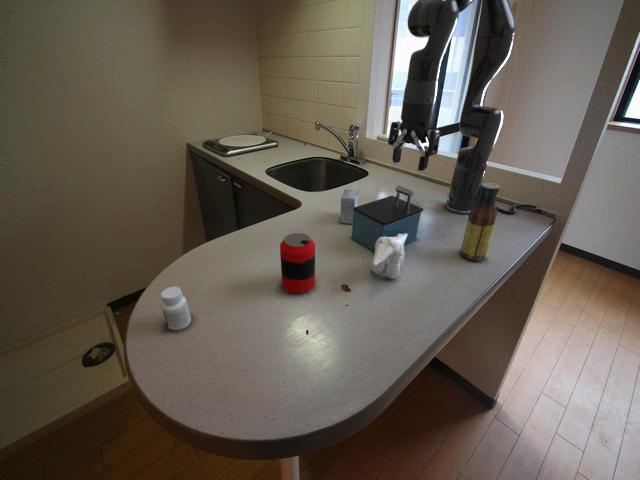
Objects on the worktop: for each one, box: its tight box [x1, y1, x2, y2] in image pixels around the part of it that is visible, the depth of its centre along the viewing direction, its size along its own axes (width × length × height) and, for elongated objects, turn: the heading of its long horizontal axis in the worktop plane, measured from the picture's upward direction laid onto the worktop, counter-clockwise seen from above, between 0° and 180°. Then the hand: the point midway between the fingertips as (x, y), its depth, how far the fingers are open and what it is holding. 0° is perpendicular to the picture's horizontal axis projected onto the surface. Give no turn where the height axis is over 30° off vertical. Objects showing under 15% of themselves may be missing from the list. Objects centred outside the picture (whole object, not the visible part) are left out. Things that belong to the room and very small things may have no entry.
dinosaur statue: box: [371, 233, 408, 280], centre depth 77 cm, size 7×24×11 cm, turn 148°
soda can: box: [279, 232, 316, 295], centre depth 70 cm, size 8×8×12 cm
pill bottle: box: [160, 286, 192, 331], centre depth 60 cm, size 4×4×8 cm
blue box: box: [351, 210, 422, 253], centre depth 90 cm, size 15×12×9 cm
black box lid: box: [354, 184, 424, 226], centre depth 86 cm, size 15×12×5 cm
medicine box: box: [339, 188, 359, 225], centre depth 101 cm, size 8×4×9 cm, turn 168°
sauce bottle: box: [460, 182, 501, 262], centre depth 80 cm, size 7×6×20 cm
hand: (408, 166), depth 85 cm, fingers open, 8 cm apart
